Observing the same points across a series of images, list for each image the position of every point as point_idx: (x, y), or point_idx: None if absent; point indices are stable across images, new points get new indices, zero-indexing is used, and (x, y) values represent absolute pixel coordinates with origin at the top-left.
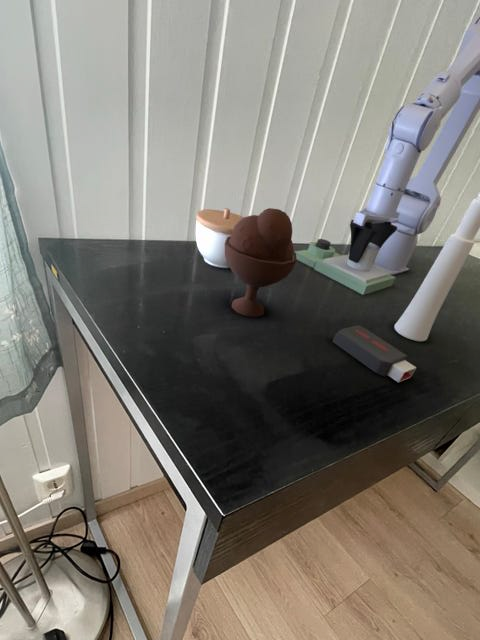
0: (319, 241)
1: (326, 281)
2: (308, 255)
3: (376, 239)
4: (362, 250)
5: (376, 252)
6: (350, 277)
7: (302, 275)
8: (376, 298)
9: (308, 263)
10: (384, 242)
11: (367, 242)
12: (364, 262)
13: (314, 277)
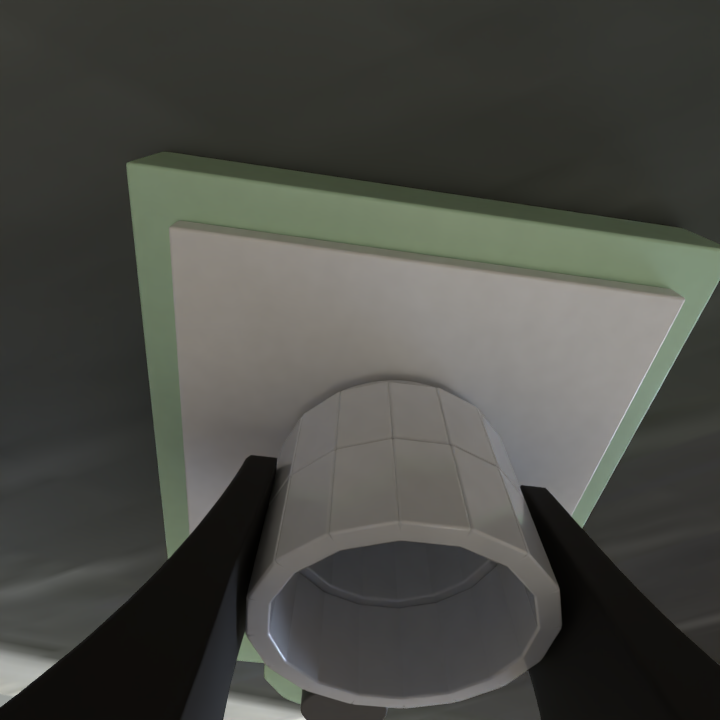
0: (384, 717)
1: (641, 462)
2: None
3: (220, 662)
4: (633, 585)
5: (453, 500)
6: (650, 402)
7: (675, 549)
8: (643, 121)
9: None
10: (148, 590)
11: (705, 677)
12: (504, 459)
13: (643, 514)
